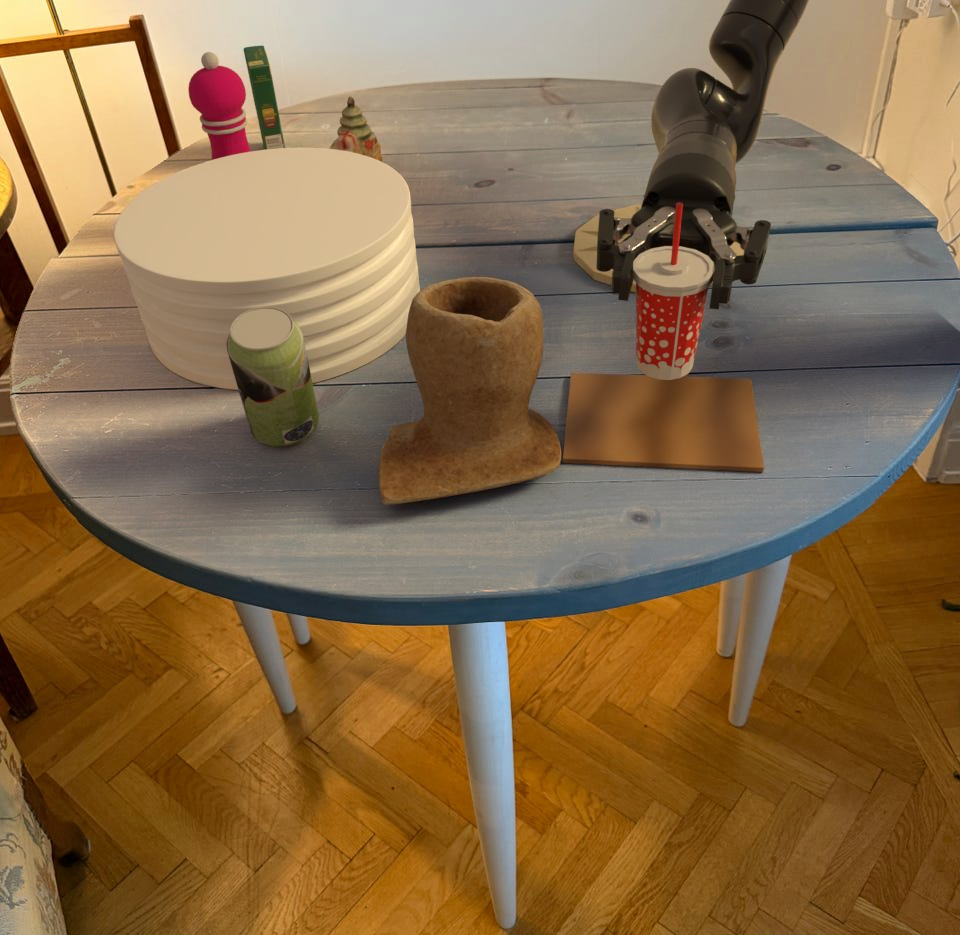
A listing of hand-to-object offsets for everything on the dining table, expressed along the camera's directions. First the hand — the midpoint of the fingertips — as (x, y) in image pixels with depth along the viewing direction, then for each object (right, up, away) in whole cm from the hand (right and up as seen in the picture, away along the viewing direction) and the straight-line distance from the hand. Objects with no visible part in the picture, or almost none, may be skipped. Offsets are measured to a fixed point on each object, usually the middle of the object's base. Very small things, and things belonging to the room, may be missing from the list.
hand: (669, 294), depth 69 cm
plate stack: (-34, +3, +28) cm, 44 cm away
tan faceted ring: (+5, +11, +33) cm, 35 cm away
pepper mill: (-42, +16, +42) cm, 61 cm away
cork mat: (+1, -9, +11) cm, 14 cm away
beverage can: (-31, -10, +12) cm, 35 cm away
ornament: (-30, +24, +51) cm, 64 cm away
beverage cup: (+1, -4, +7) cm, 9 cm away
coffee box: (-42, +30, +58) cm, 78 cm away
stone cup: (-15, -12, +8) cm, 21 cm away
